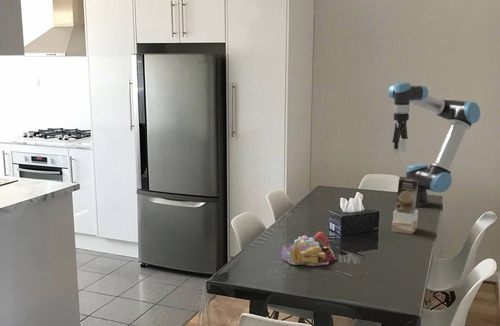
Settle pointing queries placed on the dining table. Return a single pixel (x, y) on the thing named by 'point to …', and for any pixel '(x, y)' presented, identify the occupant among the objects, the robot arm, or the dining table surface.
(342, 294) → the dining table surface
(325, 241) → the plate of sweets
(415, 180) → the coffee box
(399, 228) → the tower base block
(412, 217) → the tower top block
